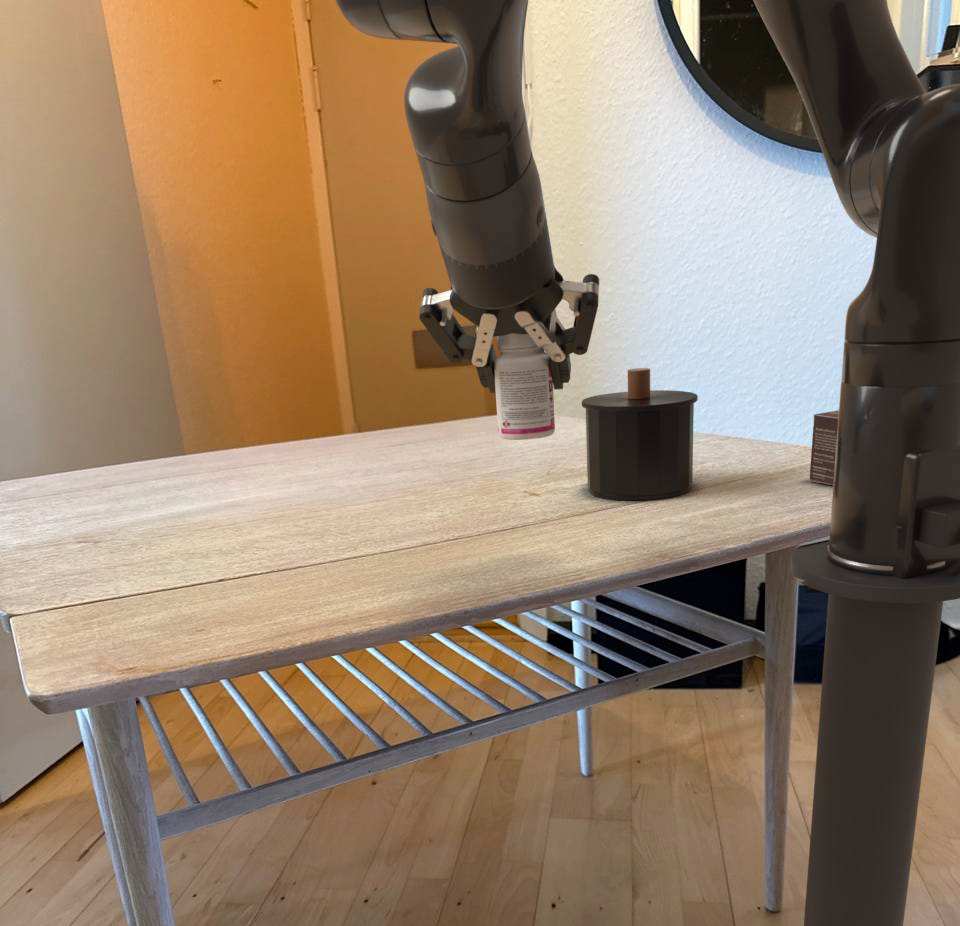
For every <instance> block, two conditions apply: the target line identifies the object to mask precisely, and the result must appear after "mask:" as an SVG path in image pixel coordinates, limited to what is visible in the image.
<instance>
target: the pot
mask: <svg viewBox="0 0 960 926" xmlns="http://www.w3.org/2000/svg"><path fill="white" fill-rule="evenodd" d="M694 405H695V403H692V404H689V405H685V406H680V407H674V408H667V409H658V410H644V411H599V410H591V409H586V408H585V434H586V437H585V439H586V440H585V441H586V473H587V477H586V478H587V487H588V493H589V494H590V495H591V496H594V497H595V498H601V499H605V500H612V501H623V502H627V501H629V502H632V501H634V502H637V501H642V502H643V501H654V500H662V499H670V498H674V497H678V496H681V495H684V494H686V493H689V492H690V491H691V489H692V485H693V476H694V475H693V473H694V470H693V469H694V415H695V414H694V413H695V412H694V409H695V408H694Z"/></svg>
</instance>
